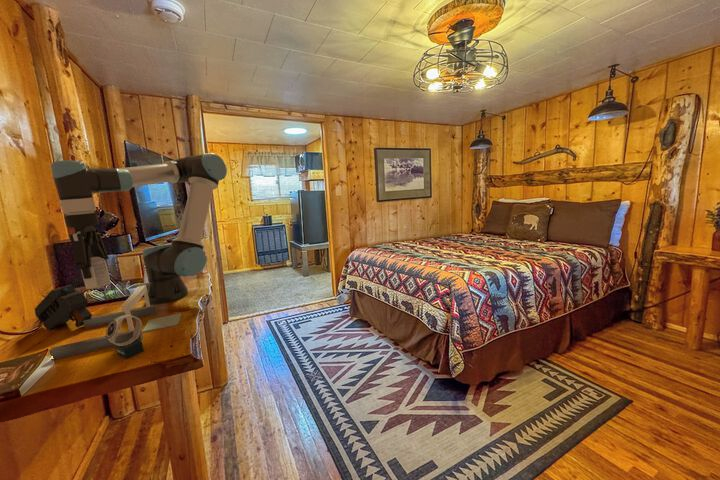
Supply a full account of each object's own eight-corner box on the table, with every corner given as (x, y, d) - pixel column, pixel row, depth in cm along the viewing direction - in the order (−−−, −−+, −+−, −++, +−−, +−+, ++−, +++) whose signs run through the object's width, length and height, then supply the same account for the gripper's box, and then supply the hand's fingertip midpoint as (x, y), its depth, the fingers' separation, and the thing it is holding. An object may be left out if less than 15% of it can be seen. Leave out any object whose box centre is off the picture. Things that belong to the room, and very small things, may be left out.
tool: (81, 321, 100) (53, 285, 99) (52, 347, 105) (25, 313, 105) (100, 313, 106) (73, 279, 105) (71, 338, 111) (46, 306, 110)
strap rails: (157, 312, 113) (155, 304, 113) (141, 339, 92) (139, 330, 91) (87, 326, 105) (85, 318, 104) (51, 360, 83) (48, 350, 83)
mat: (181, 314, 110) (181, 313, 109) (177, 324, 101) (177, 323, 100) (149, 320, 106) (149, 319, 106) (142, 332, 97) (142, 331, 97)
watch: (108, 358, 82) (99, 321, 80) (140, 344, 89) (133, 309, 87) (118, 363, 79) (108, 325, 77) (150, 348, 86) (142, 312, 84)
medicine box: (111, 284, 94) (104, 258, 93) (93, 289, 91) (86, 261, 89) (104, 281, 99) (97, 256, 97) (86, 285, 96) (79, 259, 94)
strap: (152, 304, 112) (148, 282, 111) (136, 330, 91) (130, 303, 89) (145, 305, 111) (140, 283, 110) (126, 332, 90) (120, 305, 89)
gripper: (81, 212, 99) (98, 277, 103) (43, 217, 79) (66, 297, 84) (109, 209, 102) (124, 273, 106) (79, 214, 82) (99, 291, 86)
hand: (98, 283), depth 95 cm, fingers closed on medicine box, 9 cm apart
